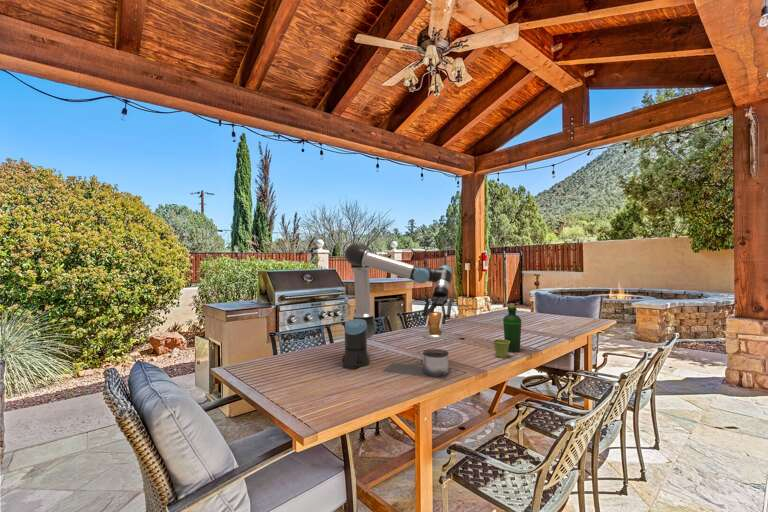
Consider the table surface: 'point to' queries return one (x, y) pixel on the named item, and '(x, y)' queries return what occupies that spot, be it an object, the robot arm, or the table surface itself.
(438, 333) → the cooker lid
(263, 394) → the table surface
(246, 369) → the table surface
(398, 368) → the stove mat
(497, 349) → the plant pot
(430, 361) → the cylinder
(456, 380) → the table surface
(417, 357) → the table surface
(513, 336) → the bottle
